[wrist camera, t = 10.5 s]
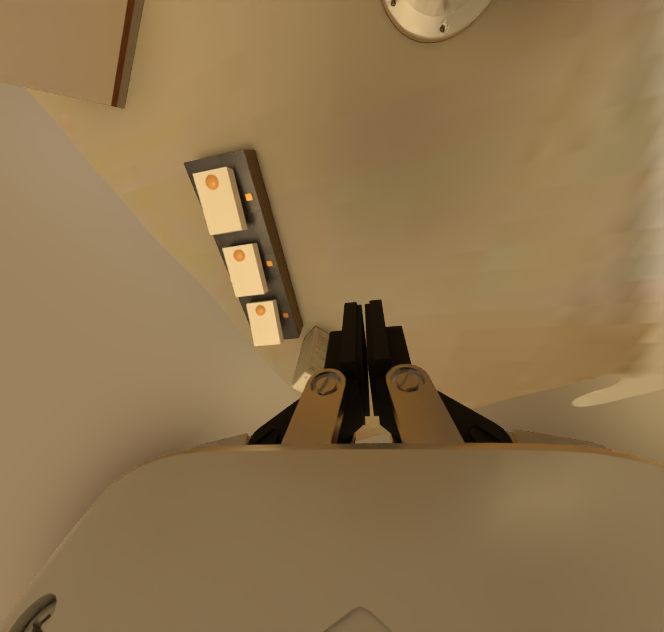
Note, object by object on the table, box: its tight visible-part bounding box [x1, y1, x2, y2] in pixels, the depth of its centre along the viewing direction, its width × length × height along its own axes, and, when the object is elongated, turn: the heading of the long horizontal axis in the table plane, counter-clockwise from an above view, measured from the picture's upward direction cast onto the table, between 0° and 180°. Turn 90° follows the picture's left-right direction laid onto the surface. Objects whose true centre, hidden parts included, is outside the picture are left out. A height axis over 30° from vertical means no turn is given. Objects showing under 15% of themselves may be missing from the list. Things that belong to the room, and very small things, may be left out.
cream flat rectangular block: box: [222, 243, 268, 297], centre depth 36 cm, size 7×4×2 cm, turn 10°
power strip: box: [184, 150, 303, 339], centre depth 39 cm, size 28×8×4 cm, turn 10°
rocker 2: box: [246, 299, 284, 346], centre depth 40 cm, size 7×4×2 cm, turn 10°
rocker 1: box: [193, 167, 248, 235], centre depth 31 cm, size 7×4×2 cm, turn 10°
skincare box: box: [292, 327, 329, 393], centre depth 44 cm, size 6×4×12 cm
